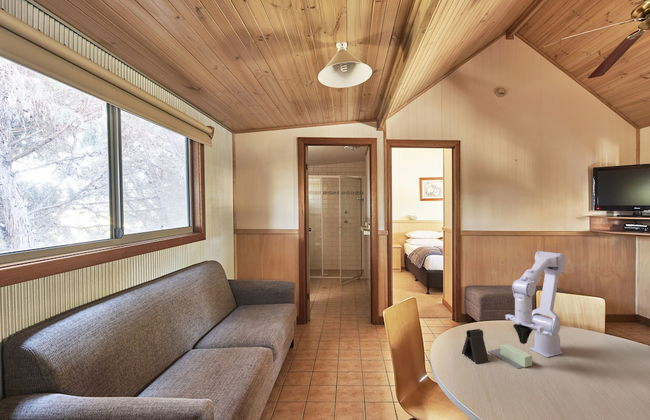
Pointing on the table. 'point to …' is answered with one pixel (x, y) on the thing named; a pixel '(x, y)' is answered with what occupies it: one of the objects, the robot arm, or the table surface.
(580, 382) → the table surface
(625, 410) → the table surface
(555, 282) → the robot arm
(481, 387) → the table surface
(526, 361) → the sage block
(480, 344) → the phone stand
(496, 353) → the mat
